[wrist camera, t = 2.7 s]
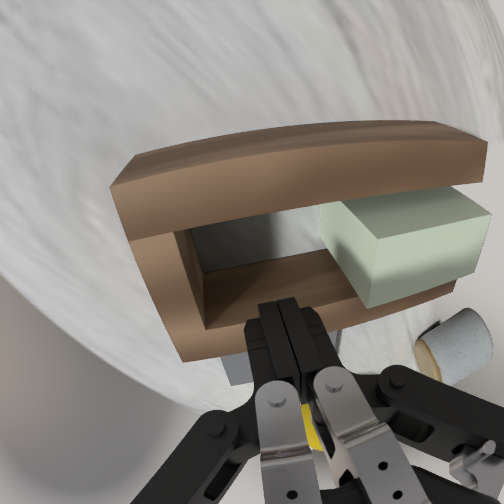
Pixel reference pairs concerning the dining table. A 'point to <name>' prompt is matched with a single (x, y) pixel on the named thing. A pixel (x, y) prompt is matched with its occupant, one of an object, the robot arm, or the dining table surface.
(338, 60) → the dining table surface
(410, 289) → the sage block
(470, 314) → the ceramic mug
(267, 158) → the rail
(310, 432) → the lemon
